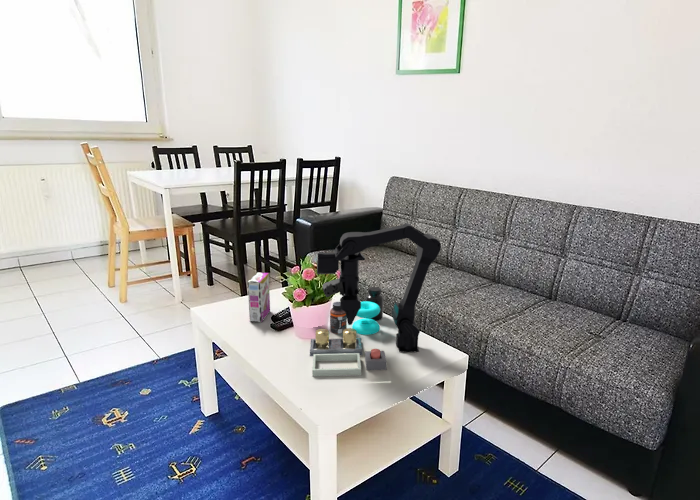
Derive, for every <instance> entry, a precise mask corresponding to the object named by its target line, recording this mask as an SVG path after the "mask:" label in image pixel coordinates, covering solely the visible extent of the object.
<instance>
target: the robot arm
mask: <svg viewBox="0 0 700 500" xmlns="http://www.w3.org/2000/svg"><path fill="white" fill-rule="evenodd" d="M339 239H340V240H339V244H338V245H337V246H336V247H335V249H334V250H333V252H323V251H322V252H321V251H319V252H317V260H316V274H317V275H335V274H336V273H338V271H339V269H340V274H339V276H338V277H339V278H337V279H332V280H330V281H327V282H324V283H323V284H322V290H323V293H324V296H325V297H326V298H329V297H331V296H333V295H336V294H339V295H340V296H341V297H340V300H339V302H340V309H342V310H344V311H345V312H346V317H347V326H352V325H353V323H354V322H355V319H356V317H357V316H356V315H357V313H358V311H359V310H360V309H361V302H362V301H361V298H360V297H359V296H358V295H359V293H360V291H359V289H360V288H359V281H360V277H359V271H360V270H359V267H360V265H359V263H360V261H365V260H366V258H365V255H364V254H362V253H361V252H363V251H365V250H367V249H368V248H370V247H373V246H377V245H382V244H387V243H391V242H395V241H400V240H401V241H402V240H405V239H408V240H409V241H411V242H413V243H414V244H415V245H417V246H416V260H415V263H414V266H413V267H412V268H413V269H412V271H411V275H410V278H409V280H408V283H407V286H406V287H405V291H404V294H403V296H402V299H401V300H400V302H397V301H395V302H394V305H393V309H392V310H391V315H392V320H393V321H394V325H395V326H396V328H397V333H395V334H396V336H395V345H396V348H397V350H398V352H399V353H417V352H420V351H419V335H420V332H421V330H420V329H419V326H418V325H417V323H416V321H415V315H416V314H415V313H416V310H415V309H416V303H417V302H418V301H417V300H418V299H419V295H420V294H421V291H422V287H423V284H424V282H425V280H426V276H427V273H428V272H429V268H430V266H431V265H432V263H434V261H436V259H437V257H438V256H439V254H440V252H441V250H442V245H441V242H440V240H438V239H437V238H436V237H435V236H434V235H433V234H431V233H424V232H422V231H421V230H420V229H418V228H416V227H414V226H413V224H411V223H403V224H400V225H396V226H391V227H387V228H383V229H379V230H372V231H367V232H366V231H365V232H364V231H363V232H362V231H350V232H345V233H343V234H342V235H341V237H340V238H339ZM339 263H340V264H339Z"/></svg>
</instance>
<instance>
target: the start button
mask: <svg viewBox="0 0 700 500" xmlns="http://www.w3.org/2000/svg"><path fill="white" fill-rule="evenodd" d="M370 351H371V359H380V351H381V350H380V349H379V348H371V350H370Z"/></svg>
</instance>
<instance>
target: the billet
mask: <svg viewBox="0 0 700 500" xmlns="http://www.w3.org/2000/svg"><path fill="white" fill-rule="evenodd" d="M342 338H343V348H356V338H357V333H356V330H355V329H353V328H352V327H349V328H347V329H344V330H343V333H342Z"/></svg>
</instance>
